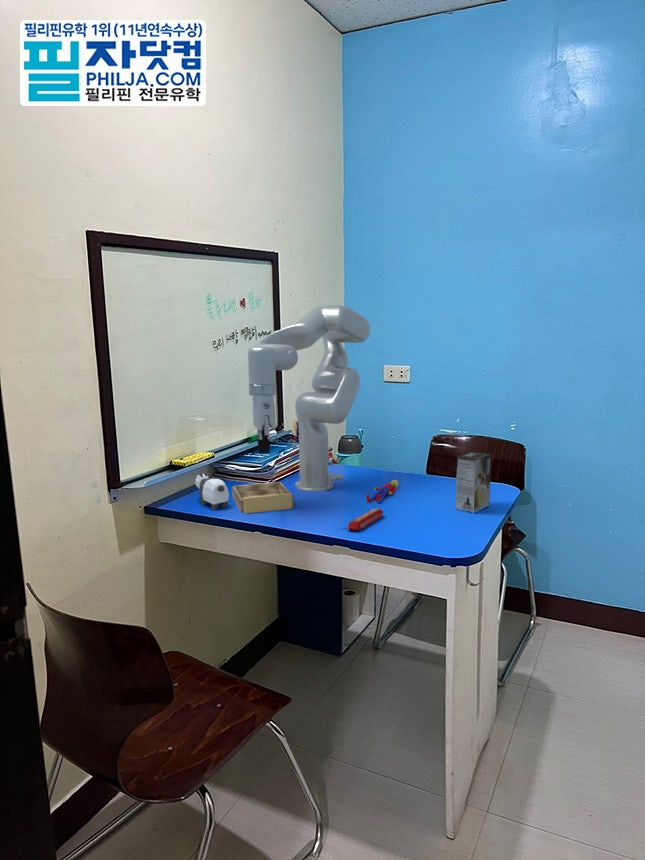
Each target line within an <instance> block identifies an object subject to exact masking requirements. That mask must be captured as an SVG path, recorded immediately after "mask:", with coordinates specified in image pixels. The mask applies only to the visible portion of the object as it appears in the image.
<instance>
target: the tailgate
mask: <svg viewBox="0 0 645 860" xmlns="http://www.w3.org/2000/svg"><path fill="white" fill-rule="evenodd" d="M292 495H293V493H292V492H290V493H284V494H273V495H263V496H253V497H244V512H243V513H244V514H254V513H262V512H263V513H265V512H274V511H283V510H284V511H285V510H291V509H293V507H292Z"/></svg>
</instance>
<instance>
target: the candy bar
mask: <svg viewBox="0 0 645 860" xmlns="http://www.w3.org/2000/svg"><path fill="white" fill-rule="evenodd" d="M383 513H384V509H381V508H372V509H369V510H367V511H366V512H365V513H363V514H360V515H359V516H357V517H356V518H354V519H352V520H351V521H349V522H348V524H347V525H348V526H347V530H349V531H360V530H362V529H364V528H365V527H367V526H368V525H370V524H372V523H374V522H376V521H377V520H379V519H380V518H382V517H383Z"/></svg>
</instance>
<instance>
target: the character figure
mask: <svg viewBox="0 0 645 860" xmlns="http://www.w3.org/2000/svg"><path fill="white" fill-rule="evenodd" d="M397 486H398V487H399V481H398V480H397V479H393V480H391V481H390V483H385V484H384V485H382V486H381V487H379V488H378V487H374V489H373V491H374V492H375V491H376V492H375V494H374V495H372V496H371V495H370V494H366V495H365V498H366V503H368V502H369V503H371V502H373V501H374V500H375V502H376V503H379V502H380V500H382V499H383V498H384V497H385V496H386V495H389V496H390V495H395V493H394V492H397V488H398V487H397ZM395 487H397V488H395ZM370 496H371V497H370Z"/></svg>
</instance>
